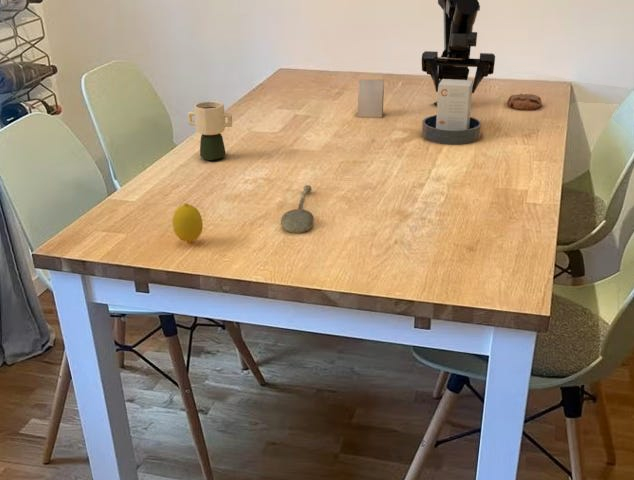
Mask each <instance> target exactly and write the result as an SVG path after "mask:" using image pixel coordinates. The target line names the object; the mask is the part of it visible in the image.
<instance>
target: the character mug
mask: <svg viewBox="0 0 634 480" xmlns="http://www.w3.org/2000/svg"><path fill="white" fill-rule="evenodd" d="M193 117H194V121H193ZM226 118H227V122H226ZM187 120H188V122H187V123H188V125H189V126H195V130H196V132H197V133H198V134H199V135H201V136H200V141H199V143H200V144H199V157H200V158H201V159H204V160H207V161H215V160H218V159H221V158H224V157H225V156H226V148H225V142H224V138H223V135H222V133H224V131H225V130H226V128H232V127H233V115H232V113H230V112H225V105H224V103H223V102H220V101H216V100H207V101H201V102H197V103H195V104H194V105H193V111H188V112H187Z"/></svg>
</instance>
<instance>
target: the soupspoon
mask: <svg viewBox="0 0 634 480" xmlns="http://www.w3.org/2000/svg"><path fill="white" fill-rule="evenodd" d="M312 190H313V189H312V186H311V185H309V184H305V185H304V186H303V192H302V194H301V197H300V200H299V203H298V206H297V208H295V209H291V210H288V211H286V212H285V213H283V214H282V216H281V218H280V225H281V227H282V228H283V230H285V231H287V232H290V233H292V234H302V233H306V232H308V231H309V230H310V229H311V228H313V224H314V222H315V217H314V214H313V213H312V212H311V211H309V210H307V209H303V207H304V203H305V198H306V195H307V194H309V193H311V192H312Z"/></svg>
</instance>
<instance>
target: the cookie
mask: <svg viewBox="0 0 634 480" xmlns="http://www.w3.org/2000/svg"><path fill="white" fill-rule="evenodd" d="M506 104H507V105H508V107H509V108H513V109H516V110H521V111H522V110H523V111H530V110H531V111H533V110H537V109H539V108H541V107H542V97H540V96H539V95H536V94H532V93H528V94H527V93H525V94H523V93H519V94H511V95H510V96H509V97H508V99H507V101H506Z"/></svg>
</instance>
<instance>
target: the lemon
mask: <svg viewBox="0 0 634 480" xmlns="http://www.w3.org/2000/svg"><path fill="white" fill-rule="evenodd" d="M172 228H173V232H174V234H175V236H176V237H177V238H179V240H181V241H183V242H186V243H188V244H191V243H193V242H194V241H196V240H197V239H199V237H200V236H201V234H202V232H203V218H202V215H201V212H200V211H199V209H198V208H197V207H195V206H193V205H191V204H188V203H183V204H182V205H180V206H179V207H177V208H176V209H175V211H174V213H173V216H172Z"/></svg>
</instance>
